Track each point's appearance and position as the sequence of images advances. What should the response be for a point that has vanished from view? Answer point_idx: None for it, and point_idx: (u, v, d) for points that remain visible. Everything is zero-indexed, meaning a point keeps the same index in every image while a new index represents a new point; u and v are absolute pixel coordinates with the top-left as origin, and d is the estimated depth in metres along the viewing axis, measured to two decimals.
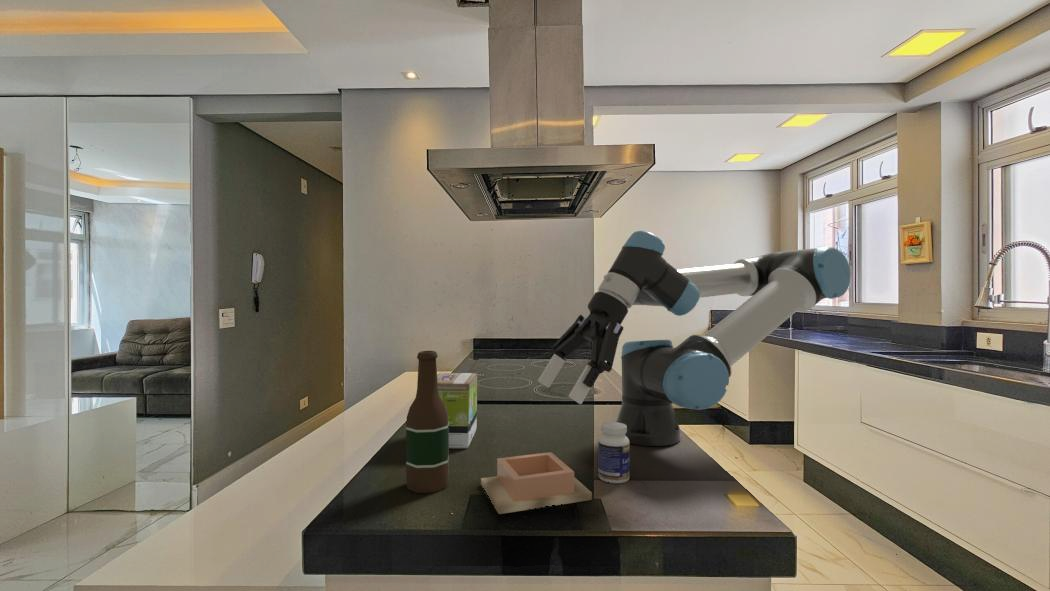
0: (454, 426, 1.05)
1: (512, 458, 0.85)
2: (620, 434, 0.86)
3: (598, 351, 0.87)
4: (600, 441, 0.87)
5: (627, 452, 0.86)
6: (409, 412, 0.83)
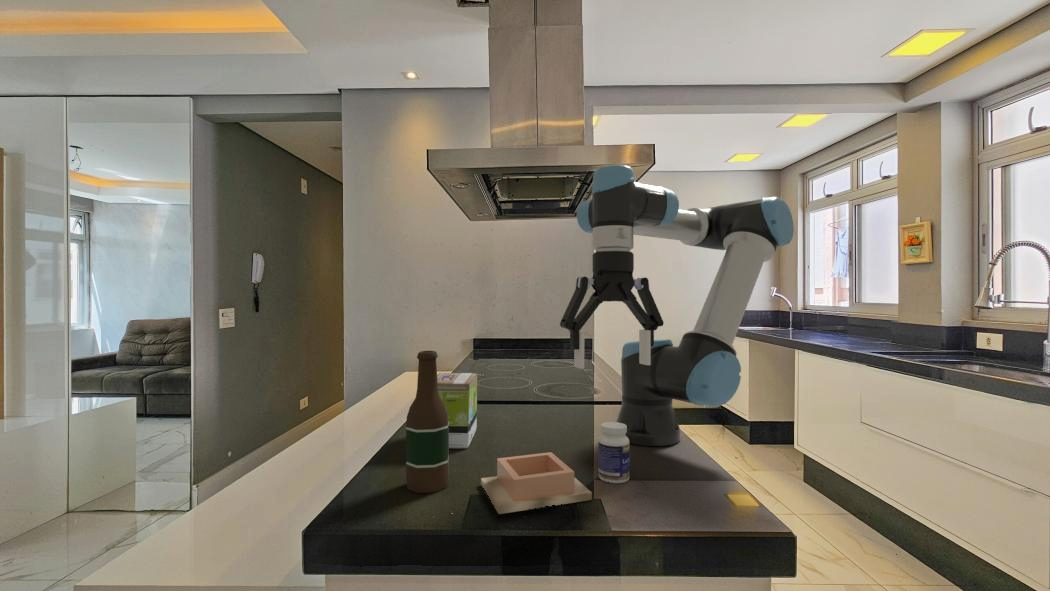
0: (454, 426, 1.05)
1: (512, 458, 0.85)
2: (620, 434, 0.86)
3: None
4: (600, 441, 0.87)
5: (627, 452, 0.86)
6: (409, 412, 0.83)
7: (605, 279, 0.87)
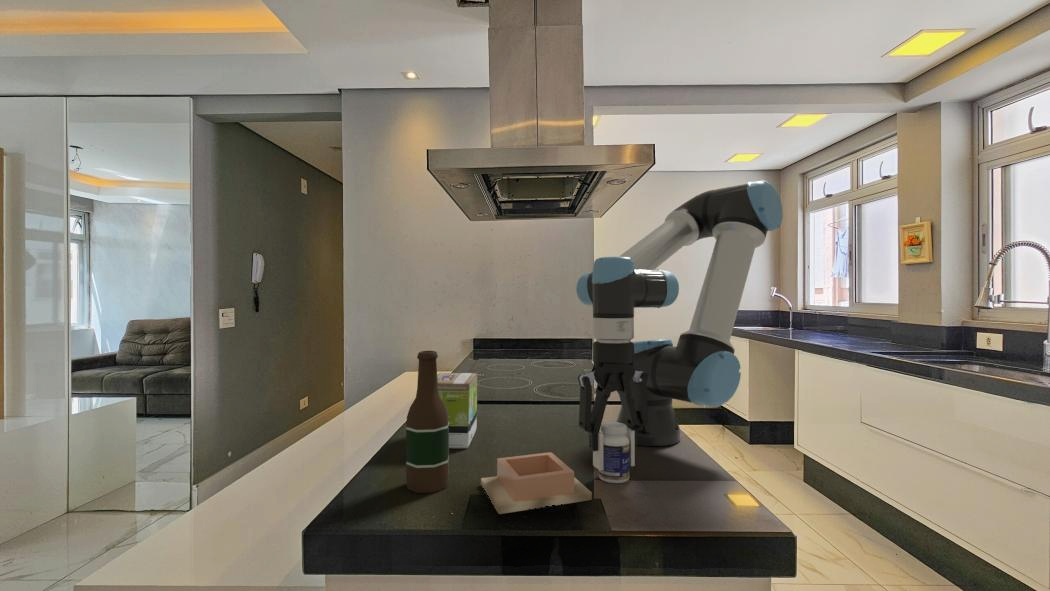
0: (454, 426, 1.05)
1: (512, 458, 0.85)
2: (620, 434, 0.86)
3: None
4: None
5: (627, 452, 0.86)
6: (409, 412, 0.83)
7: (604, 368, 0.86)
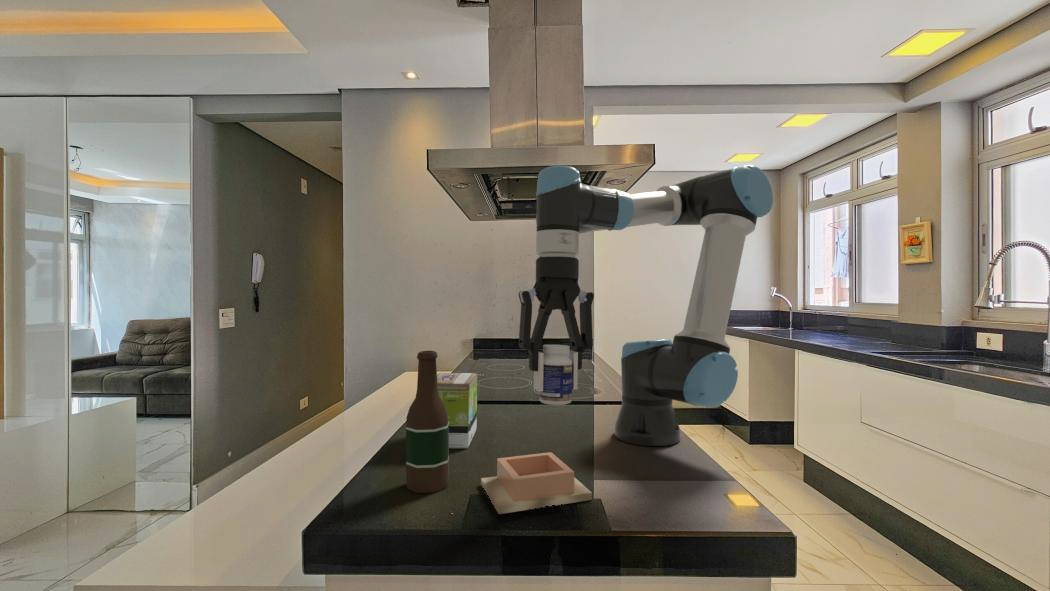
0: (454, 426, 1.05)
1: (512, 458, 0.85)
2: (561, 354, 0.81)
3: None
4: None
5: (569, 373, 0.82)
6: (409, 412, 0.83)
7: (546, 284, 0.82)
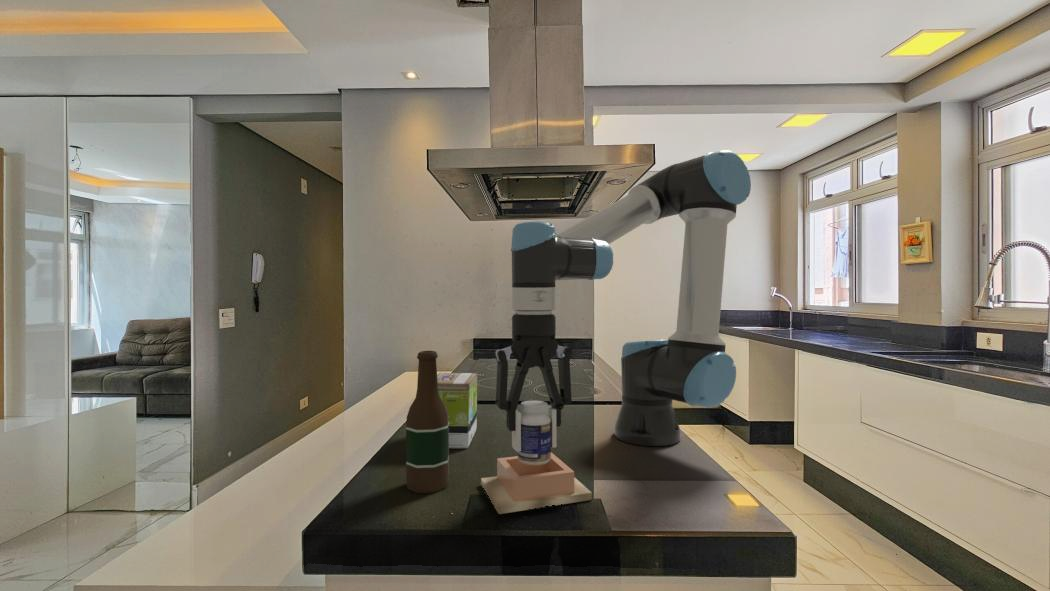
0: (454, 426, 1.05)
1: (512, 458, 0.85)
2: (539, 413, 0.80)
3: None
4: None
5: (547, 432, 0.80)
6: (409, 412, 0.83)
7: (522, 342, 0.80)
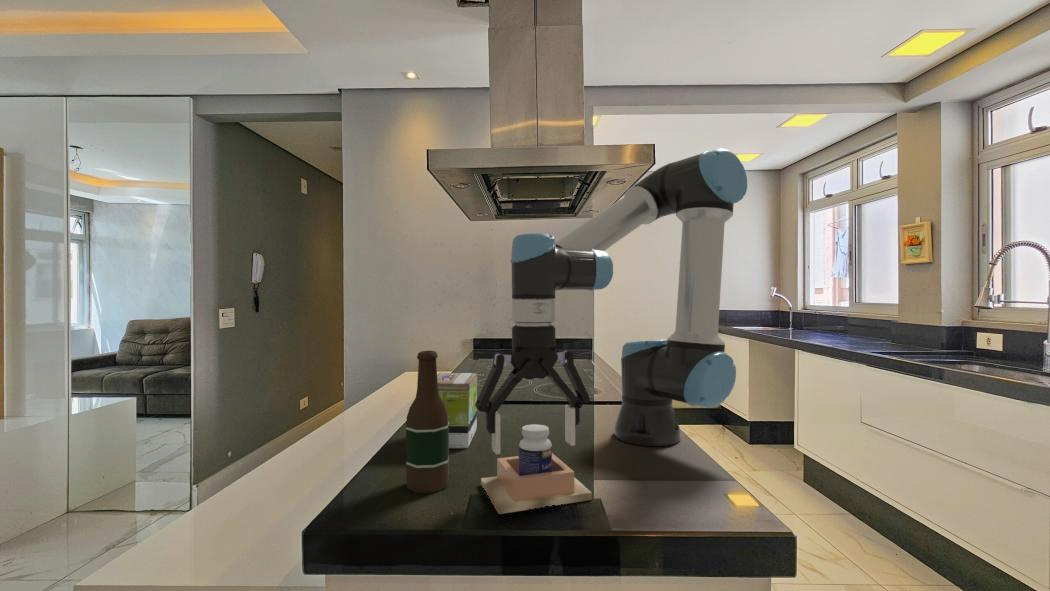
0: (454, 426, 1.05)
1: (512, 458, 0.85)
2: (540, 438, 0.80)
3: None
4: (520, 445, 0.81)
5: (548, 457, 0.80)
6: (409, 412, 0.83)
7: (524, 356, 0.80)
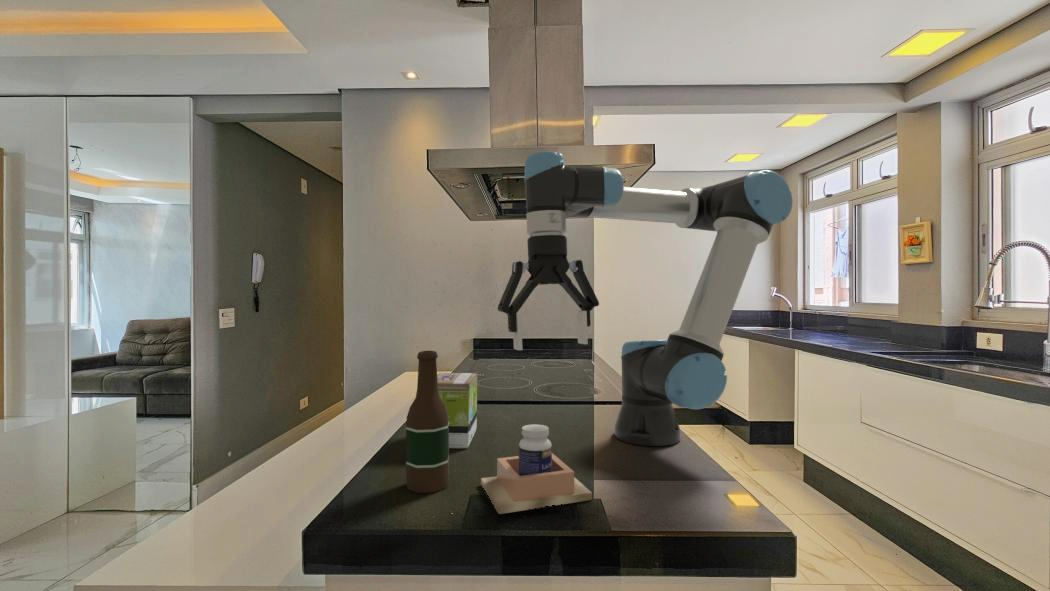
0: (454, 426, 1.05)
1: (512, 458, 0.85)
2: (540, 438, 0.80)
3: None
4: (520, 445, 0.81)
5: (548, 457, 0.80)
6: (409, 412, 0.83)
7: (540, 263, 0.89)
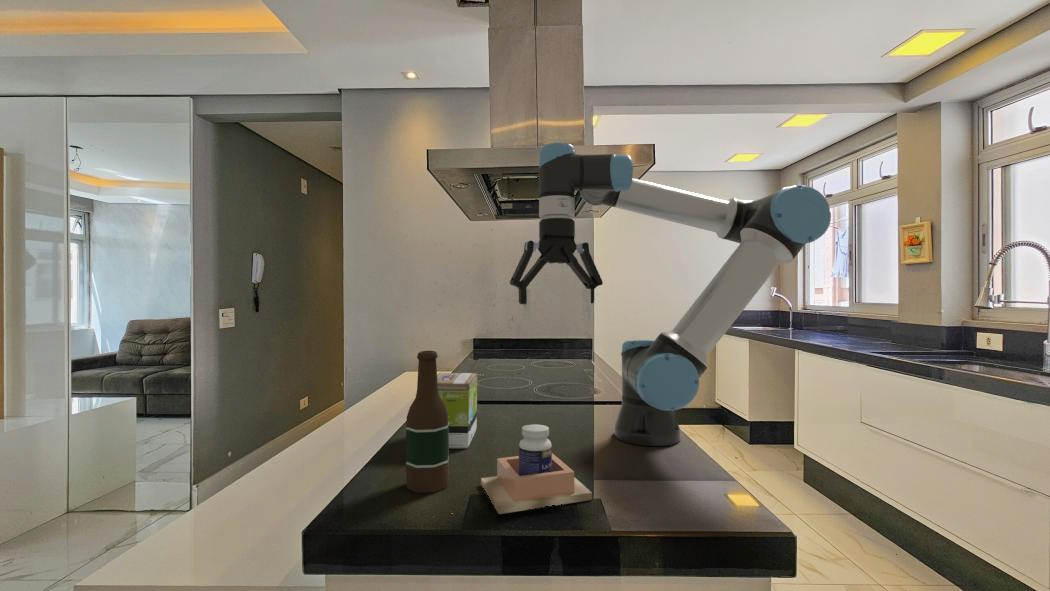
0: (454, 426, 1.05)
1: (512, 458, 0.85)
2: (540, 438, 0.80)
3: None
4: (520, 445, 0.81)
5: (548, 457, 0.80)
6: (409, 412, 0.83)
7: (549, 243, 0.99)
